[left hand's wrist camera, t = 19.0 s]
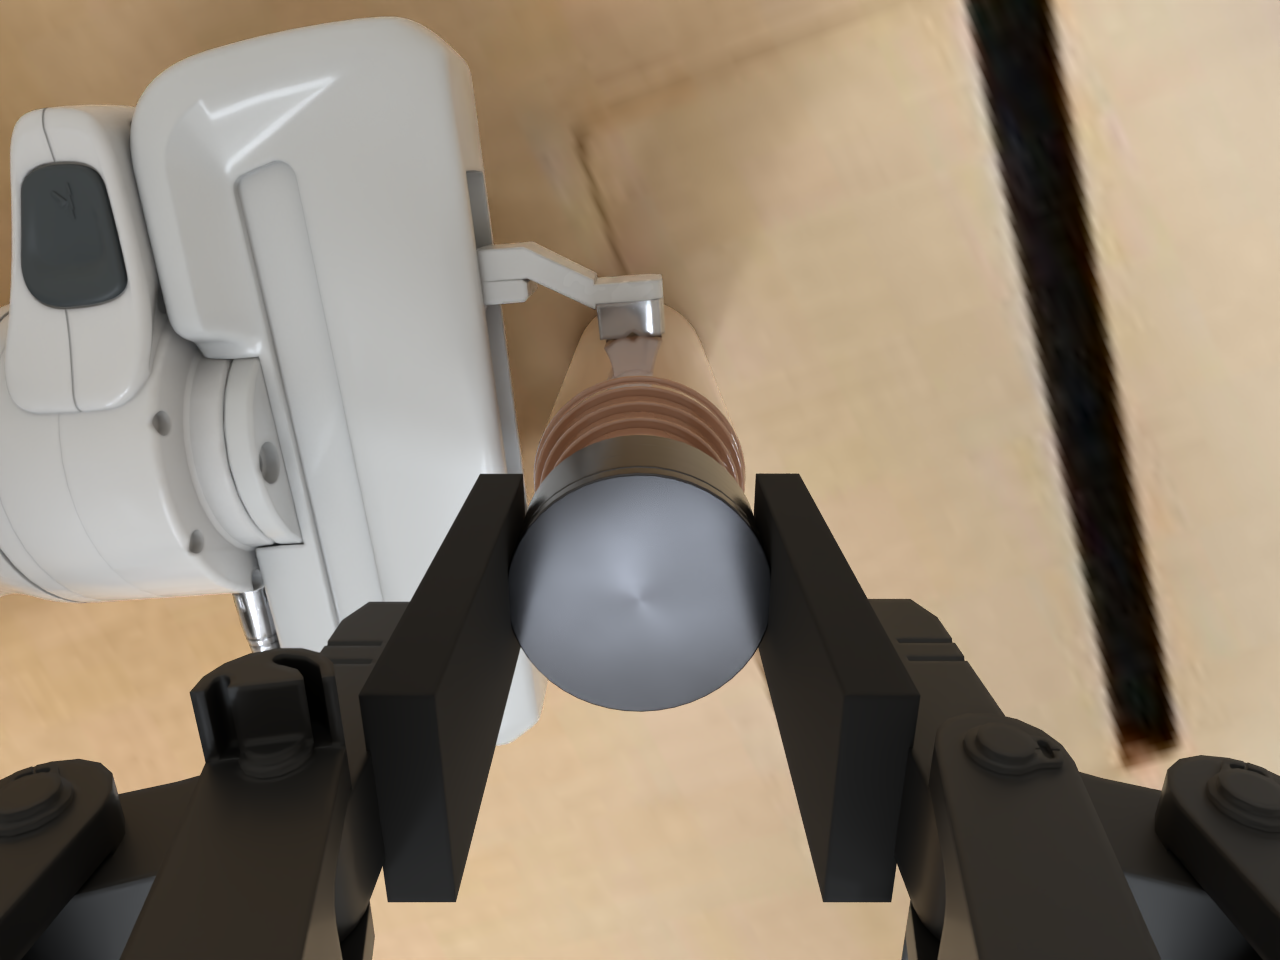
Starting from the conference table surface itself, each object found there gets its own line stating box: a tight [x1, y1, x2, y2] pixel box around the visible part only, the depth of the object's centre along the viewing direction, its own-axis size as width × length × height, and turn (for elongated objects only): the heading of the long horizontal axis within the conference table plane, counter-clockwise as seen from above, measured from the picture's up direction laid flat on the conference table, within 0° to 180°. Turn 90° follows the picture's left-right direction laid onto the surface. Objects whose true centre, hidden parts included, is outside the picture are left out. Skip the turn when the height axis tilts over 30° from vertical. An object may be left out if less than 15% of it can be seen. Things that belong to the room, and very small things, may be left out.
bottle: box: [534, 304, 745, 492], centre depth 21 cm, size 5×5×17 cm
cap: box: [508, 435, 771, 712], centre depth 13 cm, size 4×4×2 cm
